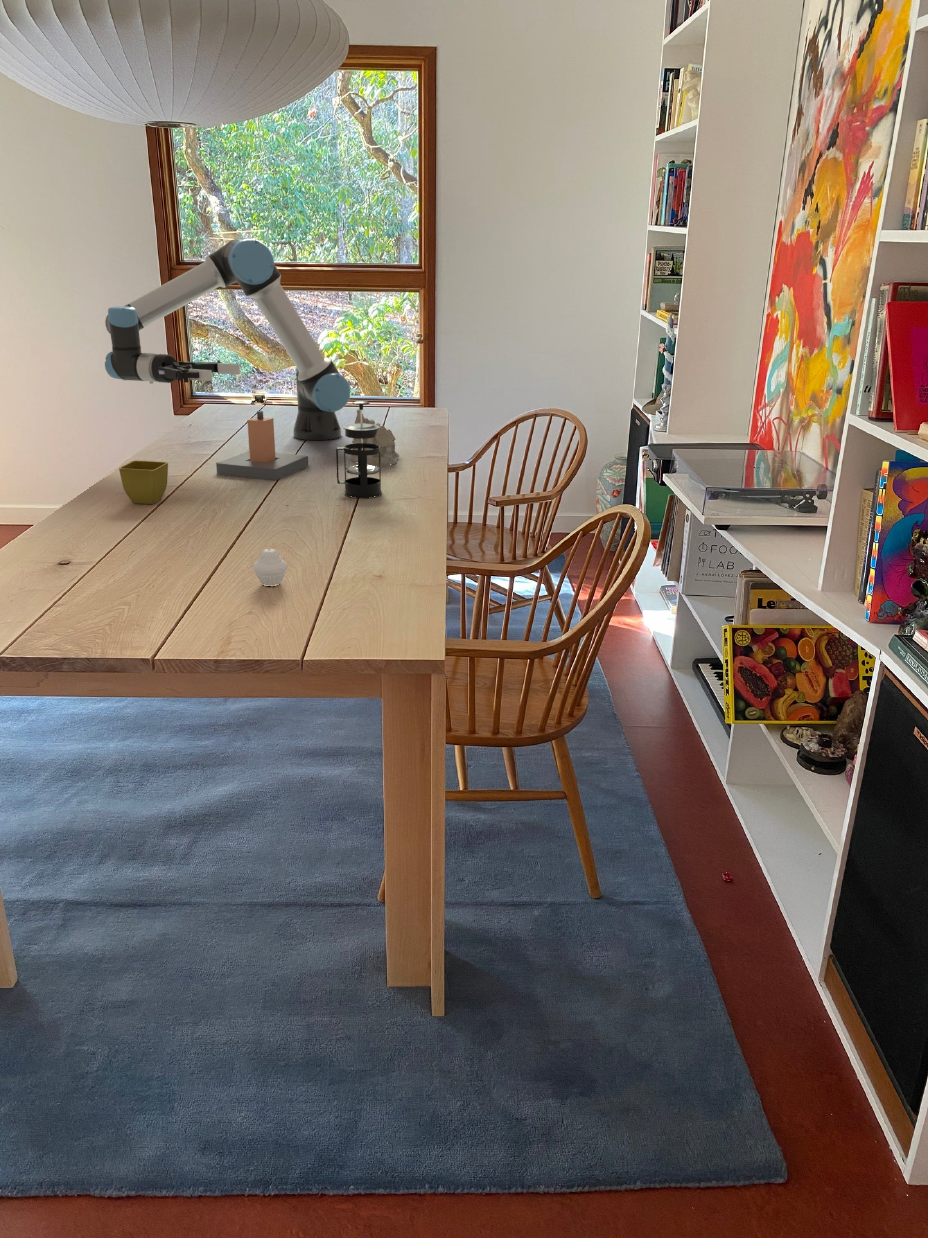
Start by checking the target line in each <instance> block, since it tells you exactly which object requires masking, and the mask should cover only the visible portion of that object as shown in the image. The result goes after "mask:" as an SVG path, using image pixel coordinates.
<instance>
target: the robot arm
mask: <svg viewBox="0 0 928 1238" xmlns="http://www.w3.org/2000/svg"><path fill="white" fill-rule="evenodd" d="M281 278H282V275H281V272H280V271H279V269H278V267H277V266H276V264H275V260H274V256H273V254H272V251H271V250H270V248H269V247H268V246H267V245H266V244H265V243H263V242H262V241H260V240H258V239H256V238H253V237H243V238H242V237H239V238H238V237H237V238H234V239H231V240H230V241H228V242H227V243H226V244H224V245H223V246H221V247H220V248H218V249H217V250H215V251H214V252H212V253H210V254H209V255H206V257H205V261H204V262H202V263H200V264H199V265H196V266H195V267H193V268H191V269H189V270H187V271H186V272H183V273H182V274H180V275H178V276H177V277H175V278H173V279H171V280H169V281H167V282H165V283H164V284H162V285H159V286H158V287H157V288H155V289H153V290H151V291H149V292H147V293H145V294H143V295H142V296H140V297H138V298H136V299H135V300H132V301H131V302H129V303H127V304H125V305H123V306H112V307H109V308H108V309H107V315H106V316H105V321H104V323H105V327H106V328H105V329H106V331H107V332H108V333H109V334H110V340H111V346H112V348H111V351H110V352H108V353H107V354H106V356H105V362H104V369H105V371H106V373H107V374H108V376H109V377H111V378H112V379H115V380H117V379H118V380H122V381H137V382H138V381H139V382H149V384H152V385H153V384H154V382H155V383H166V384H167V383H168V384H170V383H173V382H174V381H175V380H176V381H179V382H181V381H183V383H189V381H199V382H200V381H202V382H203V381H205V382H212V381H213V373H218V374H224V375H225V374H226V375H241V367H240V366H241V365H240V364H239V363H226V362H222V361H221V360H220V359H217V361H185V360H184V361H183V360H179V361H177V360H176V358H175V357H174V356H173V355H171V354H165V353H153V352H152V353H151V352H142V347H141V338H140V331H141V330H143V329H145V328H146V327H148V326H150V325H151V324H153V323H155V322H157V321H158V320H160V319H162V318H164V317H166V316H168V315H170V314H172V313H173V312H175V311H177V310H179V309H181V308H183V307H184V306H187V305H188V304H190V303H192V302H193V301H195V300H197V299H200V298H201V297H203V296H204V295H207V294H208V293H211V292H212V291H213V290H216V289H217V288H219V287H221V288H223V289H224V288H226V287H228V286H231V285H232V284H235V283H237V284H238V286H239V287H240V289H241V290H242V291H243V294H245V297H247V298H251V299H253V300H254V301H255V303H256V304H257V306H258V308H259V309H260V311H261V312H262V314H263V315H264V317H265V319H266V321H267V322H268V323H269V325H270V327H271V328H272V330H273V331H274V333H275V335H276V336H277V338H278V339H279V342H280V343H281V345H282V346H283V348H284V349H285V351H286V353H287V354H288V355H289V357H290V359H291V361H292V362H293V364H294V366H295V368H296V369H295V377H296V378H295V379H296V396H297V415H296V418H295V423H294V427H293V429H292V430H293V437H294V438H295V439H298V440H303V439H304V440H305V441H329V440H336V439H338V437H339V438H340V437H342V429H341V426H340V422H339V420H338V417H337V414H336V412H339V411H340V410H342V409H343V408H344V407H345V406H346V405H347V404H348V402H349V400H350V397H351V386H350V384H349V382H348V380H347V378H346V377H345V376H343V374H341V373H340V371H339V370H338V368H337V367H336V365H335V363H334V362H333V360H332V359H331V358H330V357H326V356H324V354H323V353H322V352H321V349H320V348H319V346H318V344H317V343H316V342H315V339H314V338H313V336H312V335H311V333H310V331H309V330H308V328H307V327H306V325H305V323H304V321H303V319H302V318H301V317H300V315H299V313H298V311H297V310H296V308H295V307H294V305H293V303H292V301H291V300H290V298H289V296H288V295H287V293H286V292H285V290H284V288H283V286H282V285H281ZM328 439H329V440H328Z"/></svg>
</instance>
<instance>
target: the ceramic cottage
mask: <svg viewBox="0 0 928 1238" xmlns="http://www.w3.org/2000/svg"><path fill="white" fill-rule="evenodd" d="M353 424H361V410H359V408H358V409H356V417H355V421H354V423H353ZM362 424H374V425H378V426H380V429H378V431H377V433H376V435H375V437H373V438H368V439H363V443H372V444H377V445H379V446H380V465H381V466H385V467H388V466H387V465H390V464H394V465H396V464H397V463H398V461H397V459H398V457H399V458H400V454H398V452H396V442H395V441H396V438H395V436H394V433H393V432H392V430H391V429H388V428H386V427H385V425H384V424H383V425H381V423H378V422H377V423H375V420H374V419H368V418H366V417H365V416H364V413H362ZM351 442H352V443H351V444H353V443H361V439H356V438H352V441H351ZM351 450H358V448H356V449H351ZM365 450H373V449H369V448H365ZM351 460H352V461H353V462H352V461H351ZM398 460H399V459H398ZM350 461H351V462H352V463H355V462H358V456H356V455H350ZM396 462H397V463H396ZM395 463H396V464H395ZM367 465H371V466H379V453H378V454H375V455H368V456H367ZM390 466H391V465H390Z"/></svg>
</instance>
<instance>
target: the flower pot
mask: <svg viewBox="0 0 928 1238" xmlns="http://www.w3.org/2000/svg"><path fill="white" fill-rule="evenodd" d="M118 471H119V474H120V479H121V483H122V487H123V490H124V493H125V494H126V497H128V498H129V501H131V502H132V503H133V504H142V505H143V504H146V505H154V504H155V503H158V502H159V501H161V500H162V498H163V496H164V494H165V492H166V489H167V486H168V485H167V484H168V474H169V473H168V471H169V462H168V461H156V460H155V461H154V460H153V461H152V460H131V461H130V462H128V463H126V464H124V465H122V466H120V467H119V468H118Z"/></svg>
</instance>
